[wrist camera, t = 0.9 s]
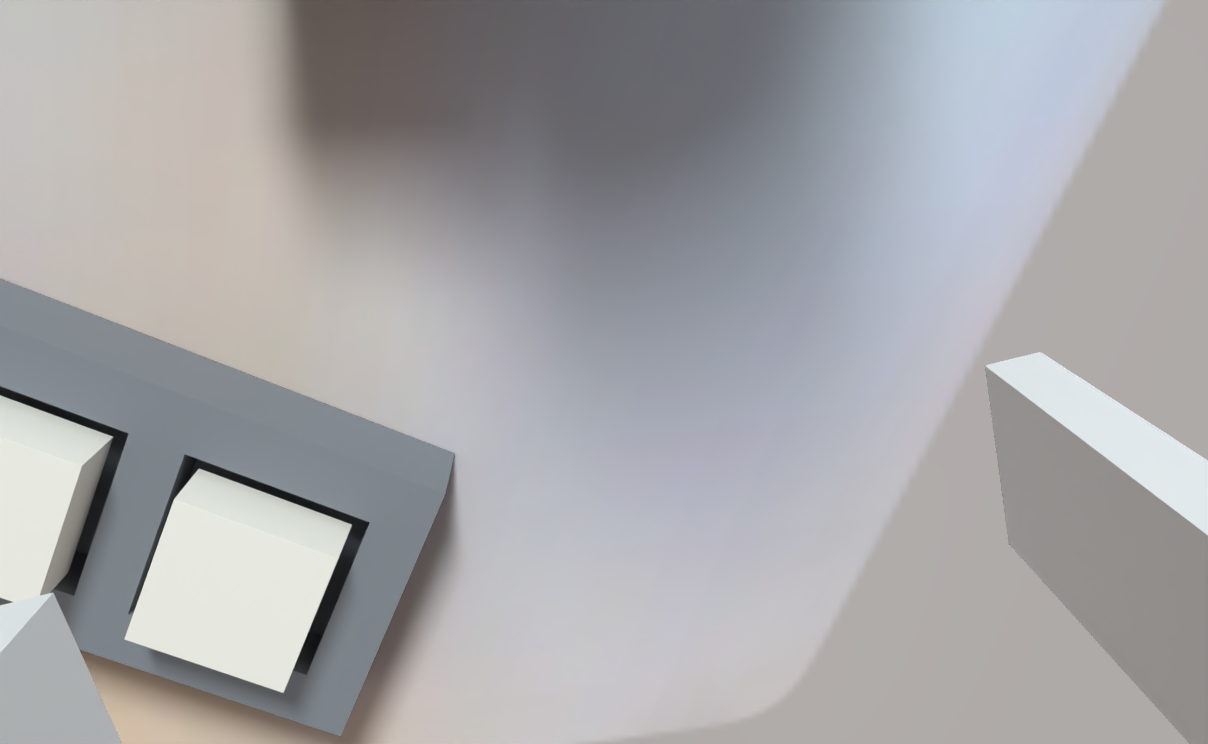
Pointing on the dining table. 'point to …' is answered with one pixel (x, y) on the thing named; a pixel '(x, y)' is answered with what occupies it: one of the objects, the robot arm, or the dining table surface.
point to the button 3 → (236, 580)
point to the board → (236, 452)
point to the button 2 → (43, 495)
